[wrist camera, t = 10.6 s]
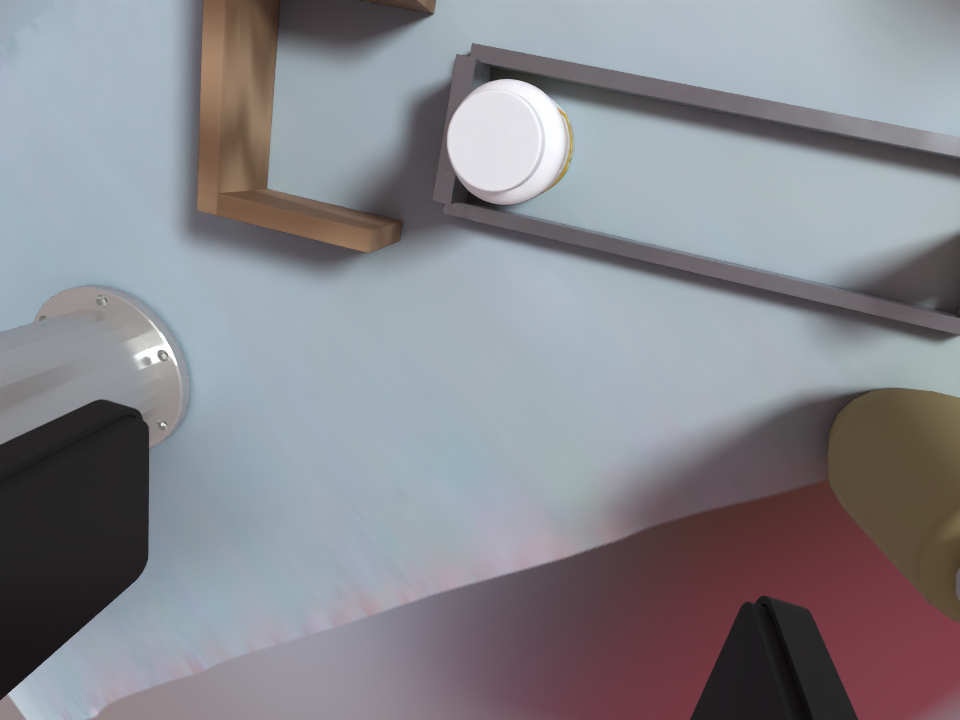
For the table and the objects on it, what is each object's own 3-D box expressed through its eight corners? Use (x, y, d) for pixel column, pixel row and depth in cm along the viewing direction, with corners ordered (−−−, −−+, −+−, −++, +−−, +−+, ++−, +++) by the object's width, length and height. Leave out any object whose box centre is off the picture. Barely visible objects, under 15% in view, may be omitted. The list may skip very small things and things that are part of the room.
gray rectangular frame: (991, 339, 31) (1089, 386, 25) (448, 211, 35) (409, 223, 29) (1084, 165, 28) (1224, 166, 22) (477, 47, 32) (441, 19, 26)
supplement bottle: (459, 145, 34) (403, 140, 25) (529, 70, 32) (494, 37, 23) (523, 216, 35) (490, 236, 26) (595, 147, 33) (587, 143, 24)
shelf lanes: (399, 241, 37) (368, 252, 32) (248, 204, 38) (197, 210, 33) (462, -179, 29) (433, -242, 25) (272, -206, 31) (211, -271, 26)
